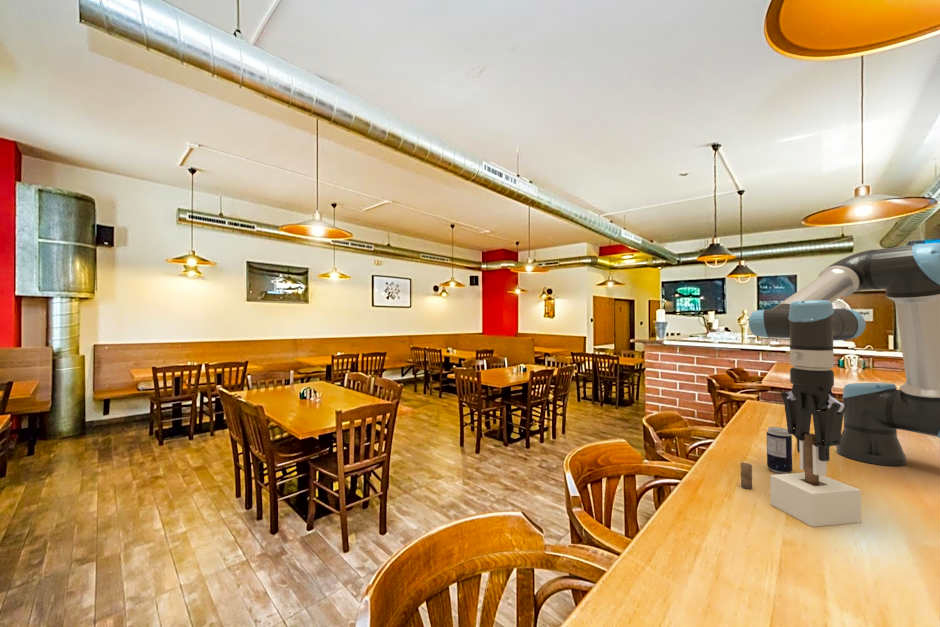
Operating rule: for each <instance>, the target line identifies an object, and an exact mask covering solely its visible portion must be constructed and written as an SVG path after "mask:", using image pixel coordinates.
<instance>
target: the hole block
mask: <svg viewBox="0 0 940 627" xmlns="http://www.w3.org/2000/svg"><path fill="white" fill-rule="evenodd" d="M769 476H770V477H769V478H770V479H769V482H770V483H769V487H770V493H769V494H770V505H771V506H773V507H774V508H777V509H779V510H781V511H782V512H784V513H786V514H787V515H790V516H791V517H793V518H795V519H797V520H799V521H800V522H803V523H805V524H807V525H808V526H810V527H812V528H815V527H827V526H837V525H848V524H858V523H859V524H860V523H862V496H861V495H862V494H861V493H862V490H861V489H859V488H856V487H854V486H851V485H849V484H846V483H844V482H841V481H839V480H836V479H834V478H831V477H828V476H826V475H819V486H813V485H811V484H808V483H806V482H805V471H804V472H793V473H791V472H790V473H788V474H780V473H777V474H770V475H769Z"/></svg>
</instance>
